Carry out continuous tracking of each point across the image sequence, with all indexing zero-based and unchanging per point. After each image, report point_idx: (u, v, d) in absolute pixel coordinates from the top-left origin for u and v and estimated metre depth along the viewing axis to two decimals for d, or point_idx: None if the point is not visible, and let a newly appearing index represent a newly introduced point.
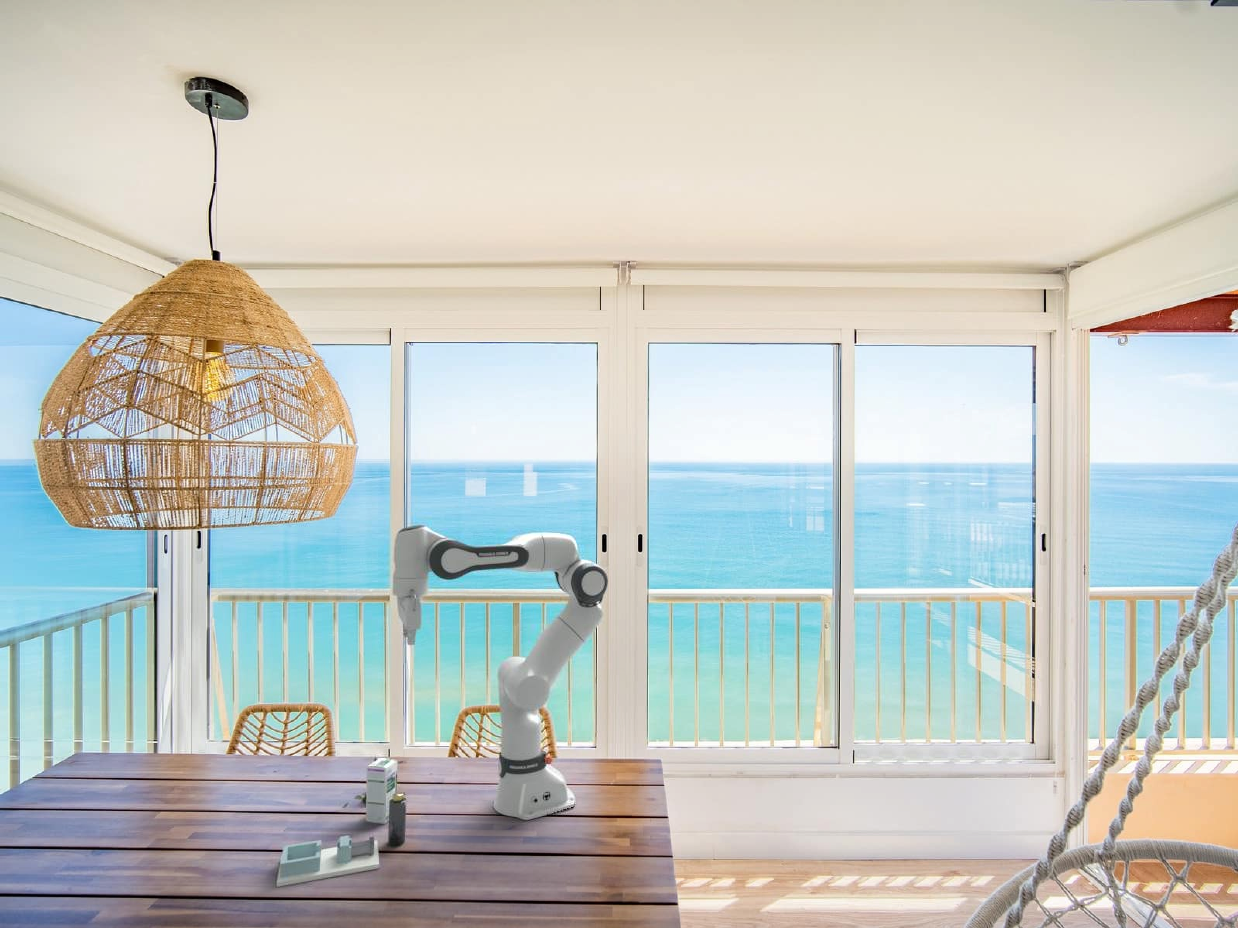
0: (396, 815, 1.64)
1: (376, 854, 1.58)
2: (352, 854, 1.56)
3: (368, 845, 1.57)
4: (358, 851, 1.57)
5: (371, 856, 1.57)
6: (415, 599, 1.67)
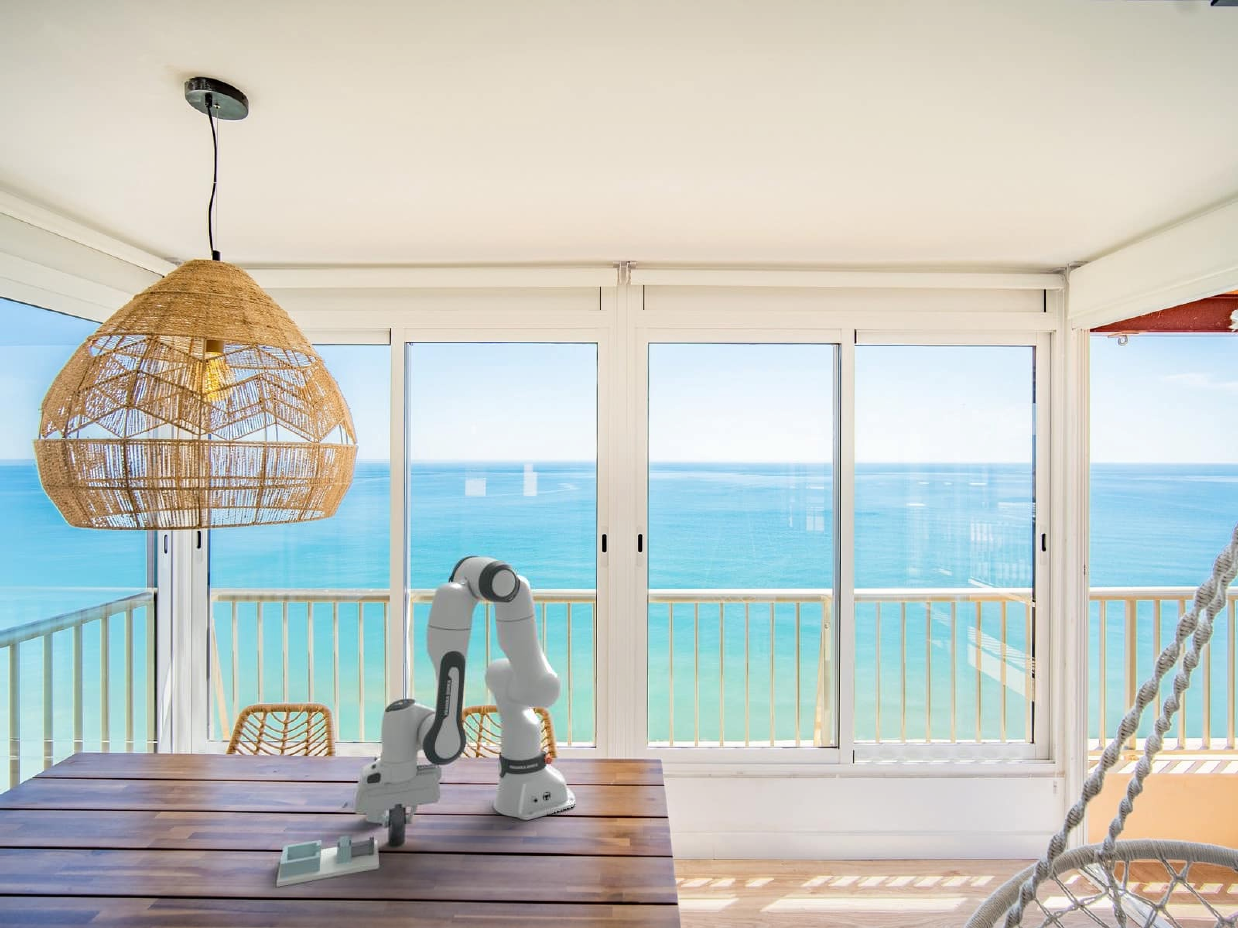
0: (396, 815, 1.64)
1: (376, 854, 1.58)
2: (352, 854, 1.56)
3: (368, 845, 1.57)
4: (358, 851, 1.57)
5: (371, 856, 1.57)
6: None
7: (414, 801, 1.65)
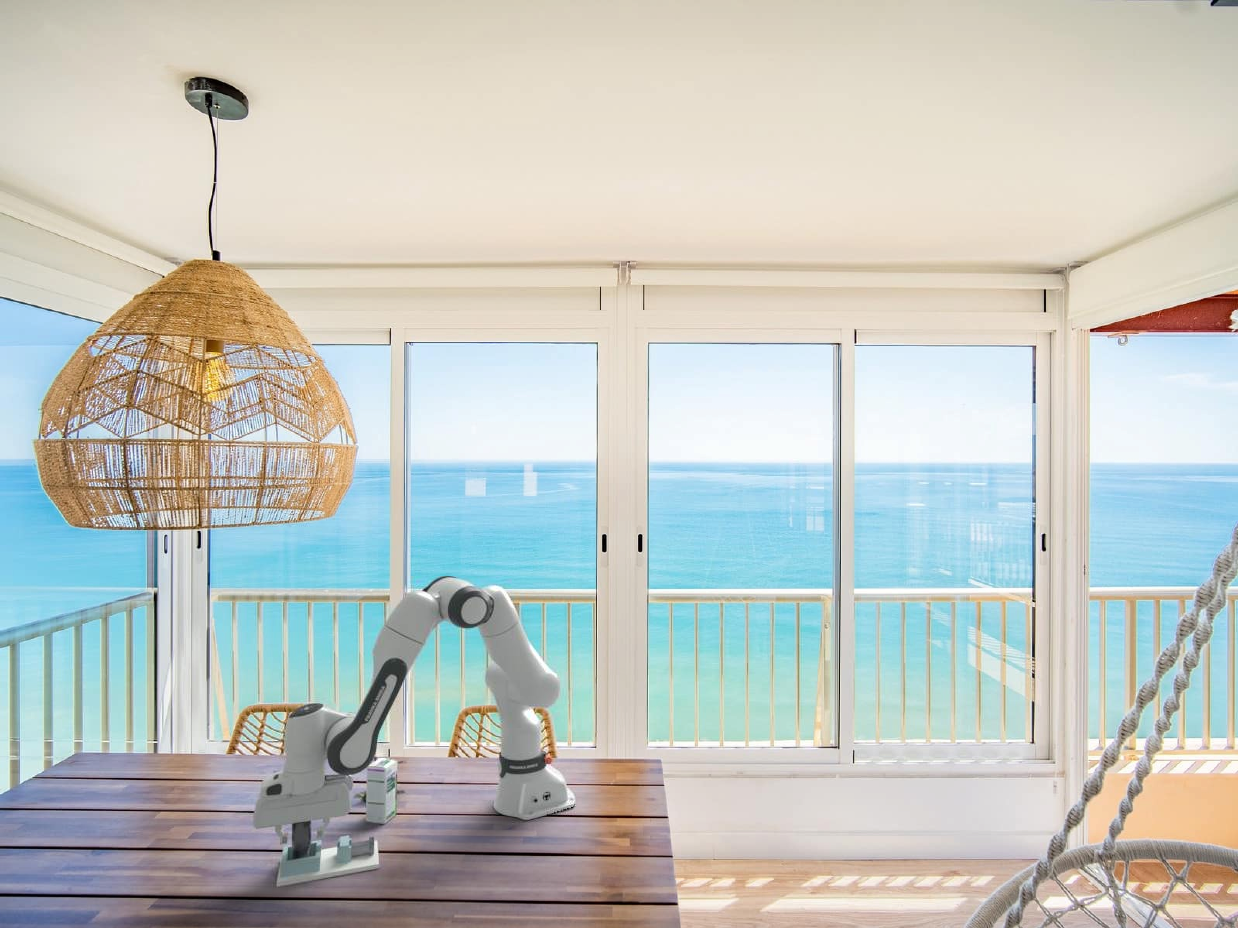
0: (299, 835, 1.51)
1: (376, 854, 1.58)
2: (352, 854, 1.56)
3: (368, 845, 1.57)
4: (358, 851, 1.57)
5: (371, 856, 1.57)
6: (352, 778, 1.58)
7: (321, 814, 1.53)
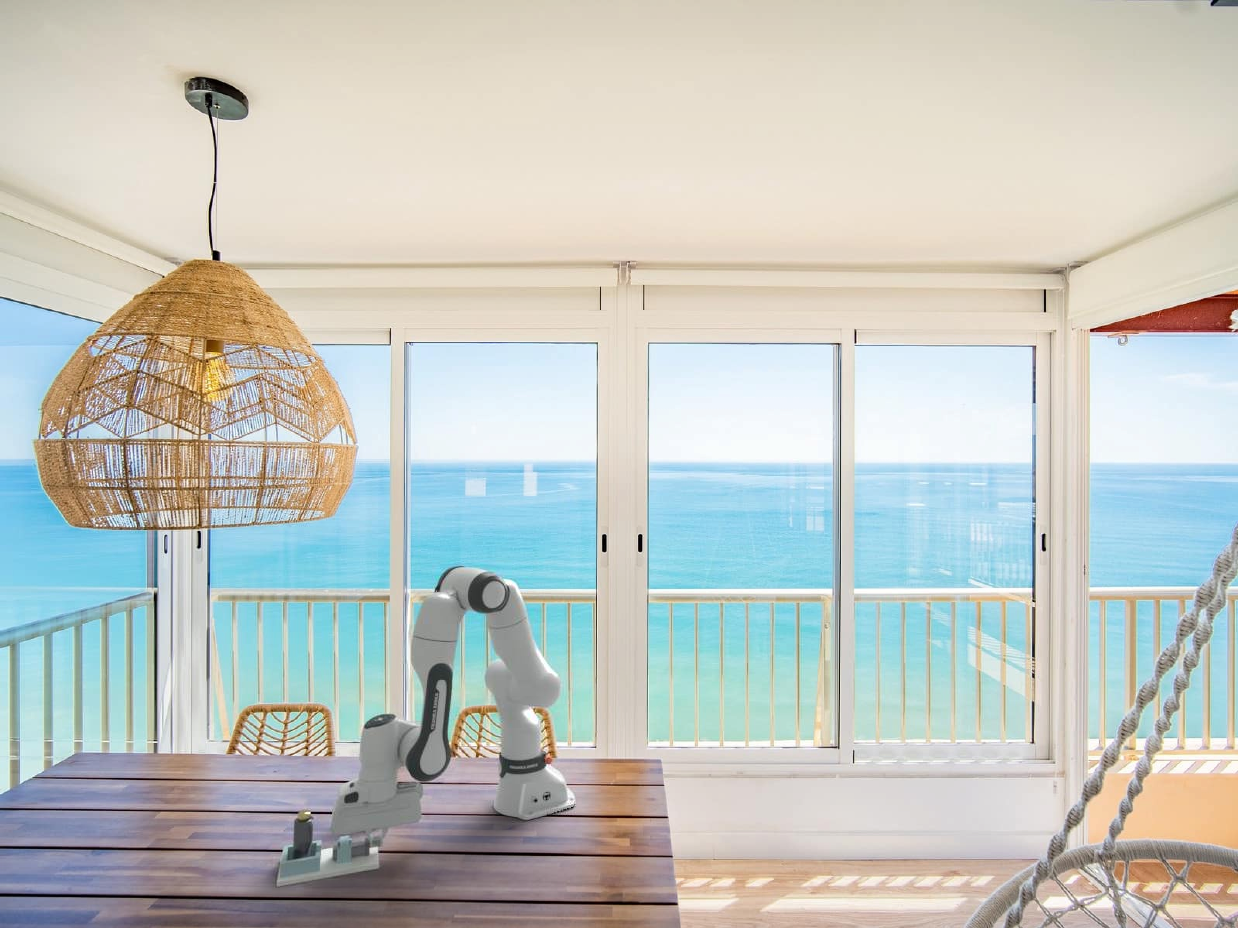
0: (300, 835, 1.51)
1: (376, 854, 1.58)
2: None
3: (364, 846, 1.57)
4: (353, 852, 1.56)
5: (371, 856, 1.57)
6: (422, 786, 1.63)
7: (394, 821, 1.59)
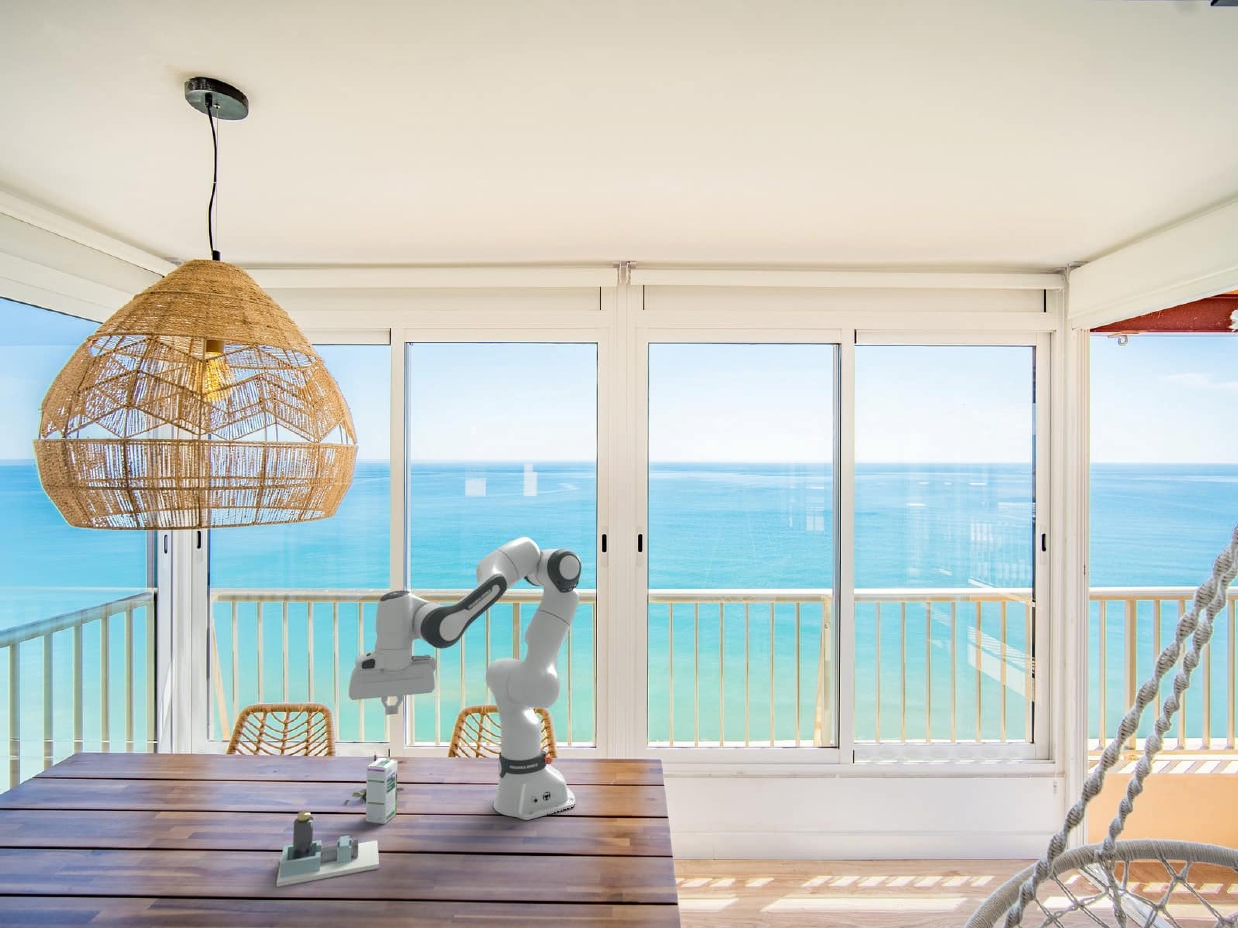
0: (299, 836, 1.51)
1: (376, 854, 1.58)
2: (336, 857, 1.55)
3: (352, 848, 1.56)
4: None
5: (371, 856, 1.57)
6: None
7: (408, 690, 1.67)
